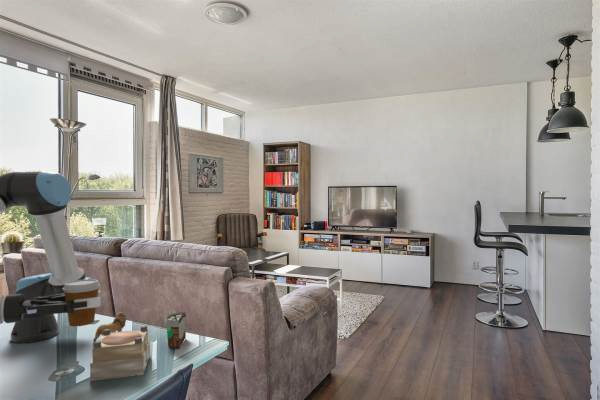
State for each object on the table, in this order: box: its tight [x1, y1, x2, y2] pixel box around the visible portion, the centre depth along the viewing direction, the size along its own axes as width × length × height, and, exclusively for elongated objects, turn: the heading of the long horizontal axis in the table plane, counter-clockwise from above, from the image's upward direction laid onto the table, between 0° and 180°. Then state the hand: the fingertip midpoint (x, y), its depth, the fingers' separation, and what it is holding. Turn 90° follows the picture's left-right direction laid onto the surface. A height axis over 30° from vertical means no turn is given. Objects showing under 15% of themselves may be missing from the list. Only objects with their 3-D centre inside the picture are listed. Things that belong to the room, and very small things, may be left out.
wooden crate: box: [89, 325, 151, 382], centre depth 114 cm, size 14×14×10 cm
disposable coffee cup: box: [63, 278, 101, 327], centre depth 109 cm, size 10×10×12 cm
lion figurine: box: [92, 311, 127, 344], centre depth 137 cm, size 15×5×9 cm, turn 165°
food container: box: [163, 310, 187, 350], centre depth 133 cm, size 12×6×10 cm, turn 5°
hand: (100, 298), depth 111 cm, fingers closed on disposable coffee cup, 8 cm apart
